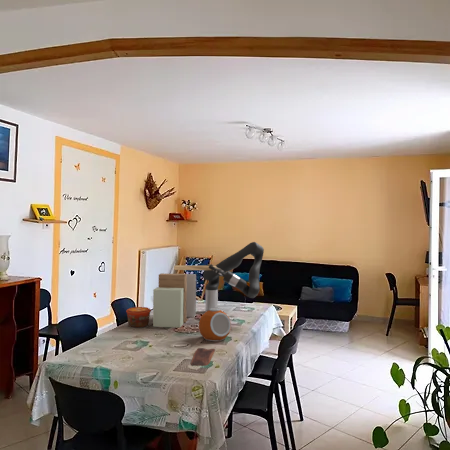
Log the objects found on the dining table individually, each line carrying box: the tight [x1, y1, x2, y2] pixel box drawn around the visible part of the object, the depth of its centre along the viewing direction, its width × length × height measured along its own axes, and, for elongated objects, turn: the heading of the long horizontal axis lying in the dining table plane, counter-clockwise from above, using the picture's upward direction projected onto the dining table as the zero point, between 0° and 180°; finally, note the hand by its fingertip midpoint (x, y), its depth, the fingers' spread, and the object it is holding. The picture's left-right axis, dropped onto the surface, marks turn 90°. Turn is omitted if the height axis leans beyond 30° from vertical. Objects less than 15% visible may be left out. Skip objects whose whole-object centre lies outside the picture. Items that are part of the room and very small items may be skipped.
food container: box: [125, 306, 152, 329], centre depth 279 cm, size 16×16×11 cm
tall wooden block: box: [158, 272, 189, 324], centre depth 292 cm, size 9×20×32 cm, turn 84°
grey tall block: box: [186, 273, 197, 318], centre depth 307 cm, size 14×6×30 cm, turn 84°
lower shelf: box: [152, 286, 184, 328], centre depth 280 cm, size 9×18×24 cm, turn 84°
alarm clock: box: [198, 308, 232, 342], centre depth 251 cm, size 19×18×17 cm
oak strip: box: [173, 264, 216, 271], centre depth 286 cm, size 4×28×2 cm, turn 85°
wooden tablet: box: [190, 347, 216, 367], centre depth 217 cm, size 26×2×10 cm
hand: (209, 265), depth 285 cm, fingers closed on oak strip, 4 cm apart
